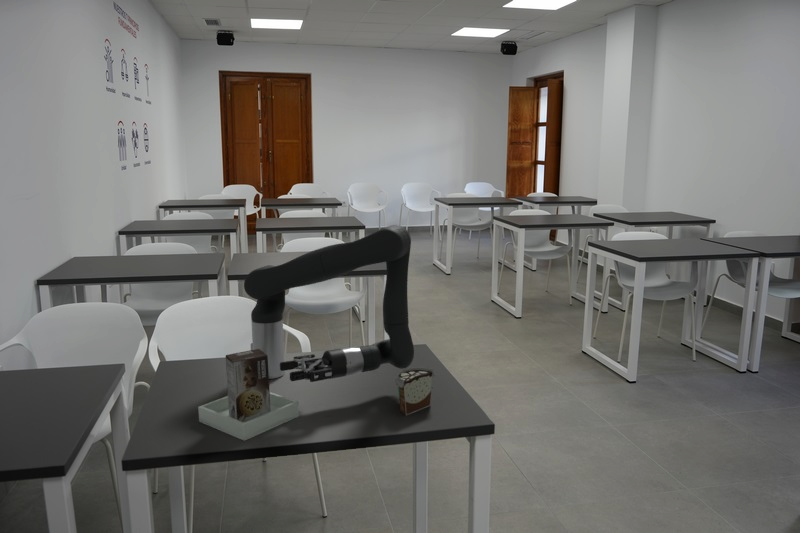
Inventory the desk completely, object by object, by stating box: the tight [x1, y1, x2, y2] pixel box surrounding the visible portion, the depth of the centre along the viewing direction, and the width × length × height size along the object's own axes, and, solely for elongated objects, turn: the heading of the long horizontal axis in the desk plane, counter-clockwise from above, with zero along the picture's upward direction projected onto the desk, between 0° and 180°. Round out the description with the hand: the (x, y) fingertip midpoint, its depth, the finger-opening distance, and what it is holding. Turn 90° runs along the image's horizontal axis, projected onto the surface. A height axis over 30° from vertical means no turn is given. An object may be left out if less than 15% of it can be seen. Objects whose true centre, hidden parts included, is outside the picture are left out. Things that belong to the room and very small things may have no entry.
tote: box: [197, 391, 300, 442], centre depth 163 cm, size 18×18×4 cm
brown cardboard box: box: [225, 349, 271, 422], centre depth 162 cm, size 9×6×16 cm
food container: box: [395, 366, 436, 416], centre depth 170 cm, size 12×6×10 cm, turn 135°
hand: (285, 371), depth 166 cm, fingers open, 8 cm apart
